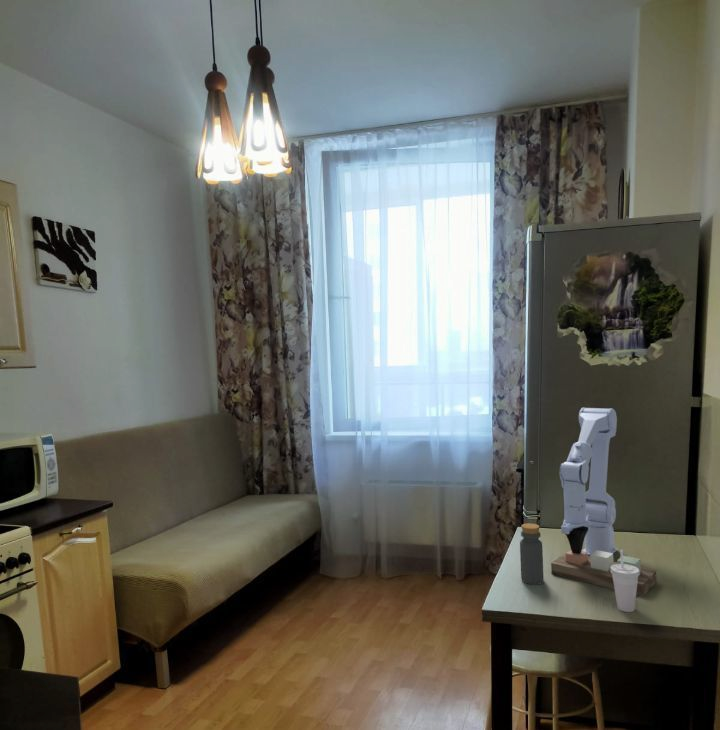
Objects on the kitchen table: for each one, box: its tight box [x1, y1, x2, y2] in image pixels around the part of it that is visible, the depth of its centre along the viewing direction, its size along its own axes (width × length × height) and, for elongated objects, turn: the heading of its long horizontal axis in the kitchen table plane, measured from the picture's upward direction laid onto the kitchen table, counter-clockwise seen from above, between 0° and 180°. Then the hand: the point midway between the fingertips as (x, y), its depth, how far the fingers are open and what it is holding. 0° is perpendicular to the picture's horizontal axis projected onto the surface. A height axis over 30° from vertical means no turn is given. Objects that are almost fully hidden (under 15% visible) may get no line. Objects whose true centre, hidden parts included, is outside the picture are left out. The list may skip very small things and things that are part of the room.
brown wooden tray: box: [550, 552, 658, 597], centre depth 155 cm, size 11×24×3 cm, turn 47°
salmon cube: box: [565, 549, 589, 566], centre depth 160 cm, size 4×4×4 cm
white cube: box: [590, 550, 614, 572], centre depth 155 cm, size 4×4×4 cm
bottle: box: [519, 522, 544, 585], centre depth 155 cm, size 6×6×15 cm
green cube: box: [616, 555, 642, 574], centre depth 150 cm, size 4×4×4 cm
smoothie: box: [610, 549, 640, 613], centre depth 136 cm, size 6×6×14 cm
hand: (576, 552), depth 160 cm, fingers closed, pressing on salmon cube
